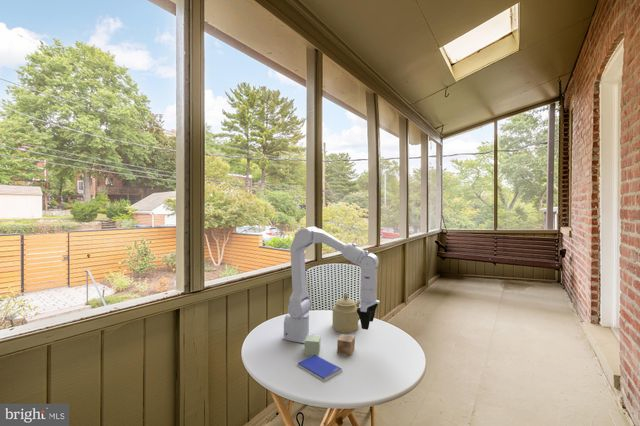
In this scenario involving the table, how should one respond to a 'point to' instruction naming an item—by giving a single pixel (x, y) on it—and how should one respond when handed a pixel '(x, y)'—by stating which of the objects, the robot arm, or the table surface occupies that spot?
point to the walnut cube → (346, 344)
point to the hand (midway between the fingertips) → (367, 324)
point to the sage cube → (312, 345)
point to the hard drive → (319, 367)
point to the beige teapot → (345, 315)
